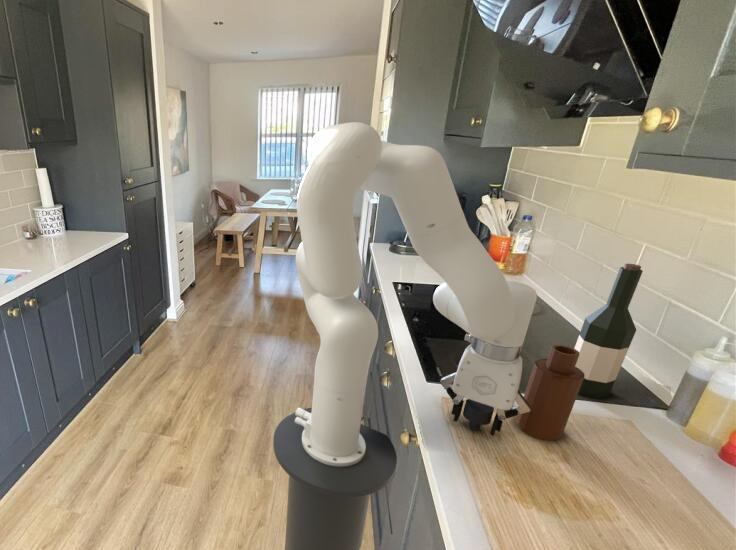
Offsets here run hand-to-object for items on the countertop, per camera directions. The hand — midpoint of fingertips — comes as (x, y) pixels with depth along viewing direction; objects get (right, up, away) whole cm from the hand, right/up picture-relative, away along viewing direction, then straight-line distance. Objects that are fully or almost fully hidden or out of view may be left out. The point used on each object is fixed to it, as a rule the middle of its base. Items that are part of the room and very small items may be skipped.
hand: (474, 424), depth 81 cm
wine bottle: (+34, +5, +12) cm, 36 cm away
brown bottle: (+13, -1, 0) cm, 13 cm away
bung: (0, -1, 0) cm, 1 cm away
